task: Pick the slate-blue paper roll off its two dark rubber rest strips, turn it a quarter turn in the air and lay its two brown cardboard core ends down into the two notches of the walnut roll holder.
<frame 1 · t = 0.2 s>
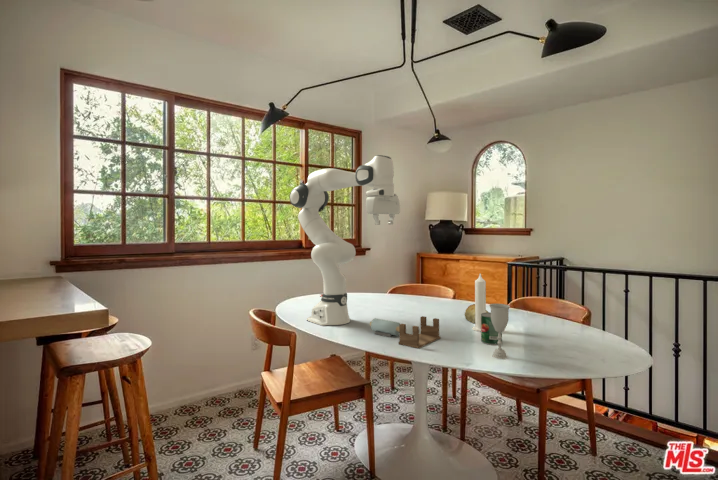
hand: (384, 224, 172), 47 cm above the table, tool pointing down, fingers open, 8 cm apart
candle: (480, 330, 175), on the table
roll holder: (420, 341, 159), on the table
canned tomato: (491, 342, 156), on the table
pastry: (477, 321, 191), on the table
paper roll: (385, 326, 170), point 3 cm above the table, touching rest strips
rest strips: (386, 334, 170), on the table
chalice: (499, 357, 139), on the table
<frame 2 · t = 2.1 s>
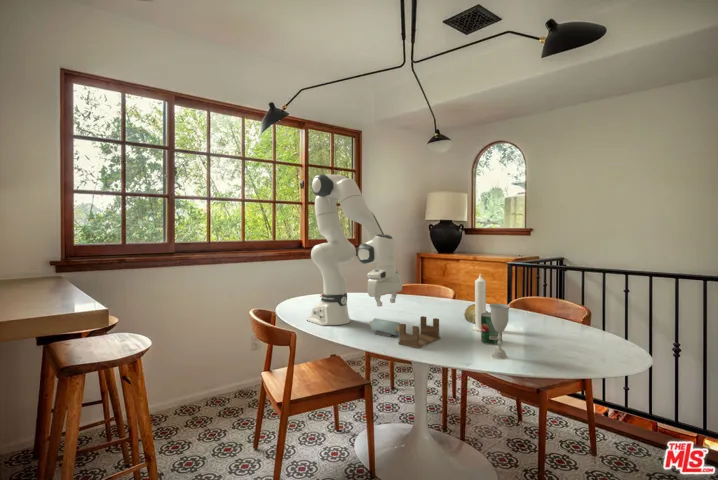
hand: (386, 304, 169), 13 cm above the table, tool pointing down, fingers open, 8 cm apart
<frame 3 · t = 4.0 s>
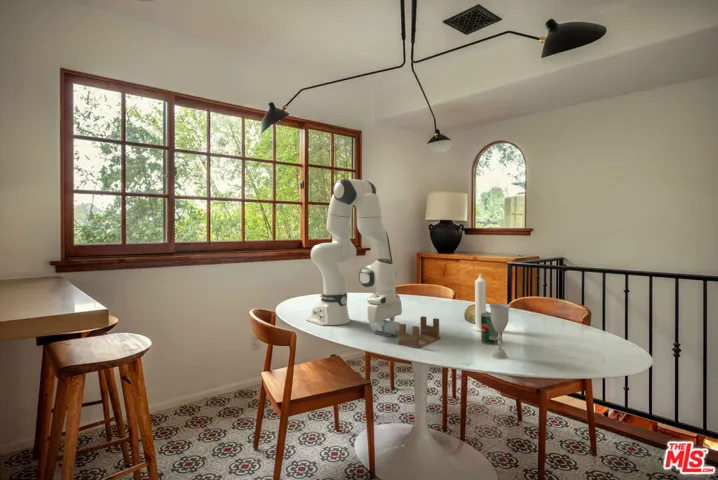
hand: (385, 328, 170), 2 cm above the table, tool pointing down, fingers closed on paper roll, 5 cm apart
paper roll: (385, 326, 170), point 3 cm above the table, touching gripper, rest strips
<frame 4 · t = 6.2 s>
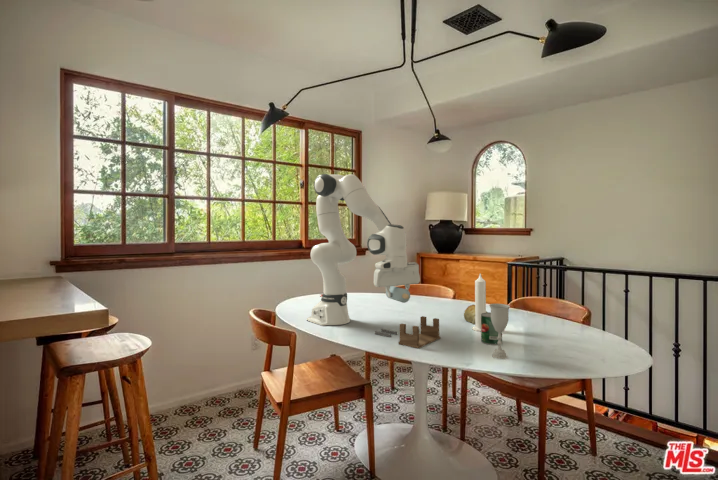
hand: (397, 296, 166), 17 cm above the table, tool pointing down, fingers closed on paper roll, 5 cm apart
paper roll: (397, 294, 166), point 18 cm above the table, touching gripper
when the fingers open (6 cm above the table, at t = 8.9 s): paper roll stays where it is, resting on roll holder.
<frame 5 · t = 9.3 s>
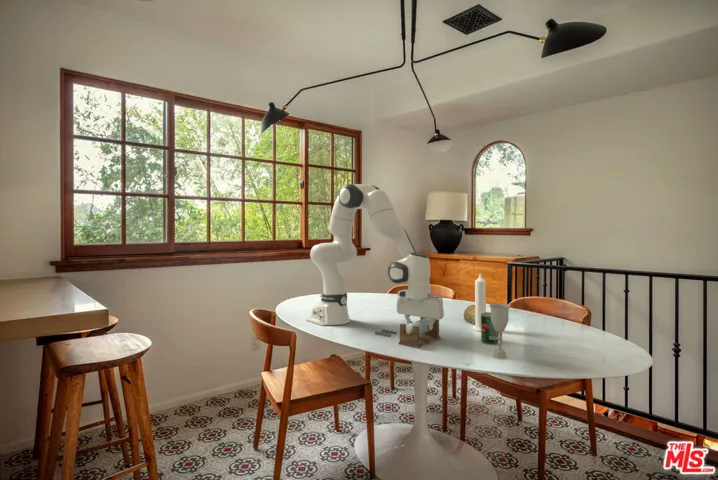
hand: (419, 327, 159), 6 cm above the table, tool pointing down, fingers open, 8 cm apart
paper roll: (419, 327, 159), point 5 cm above the table, touching roll holder
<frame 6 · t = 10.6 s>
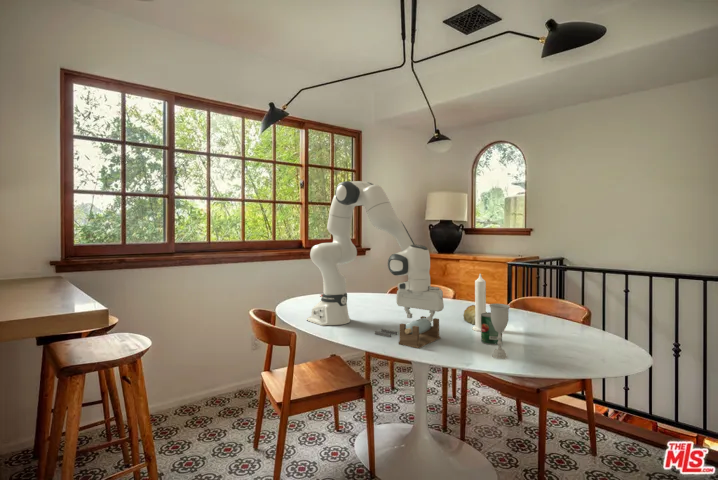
hand: (419, 319, 159), 9 cm above the table, tool pointing down, fingers open, 8 cm apart
paper roll: (417, 327, 160), point 5 cm above the table, tilted 53°, touching roll holder
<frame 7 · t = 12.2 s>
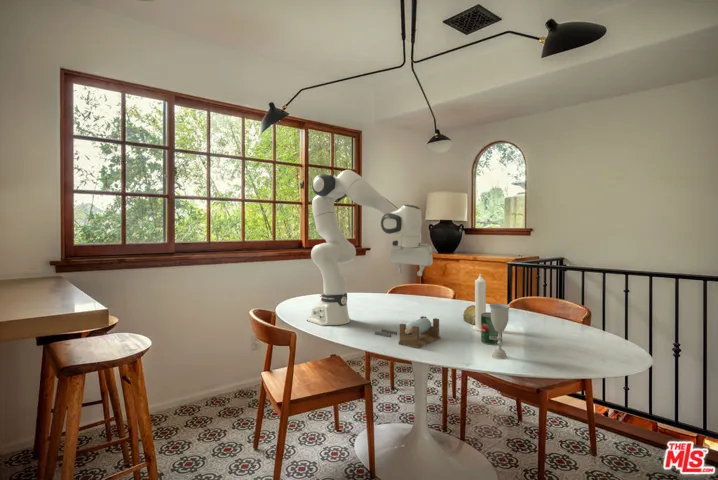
hand: (410, 274, 171), 25 cm above the table, tool pointing down, fingers open, 8 cm apart
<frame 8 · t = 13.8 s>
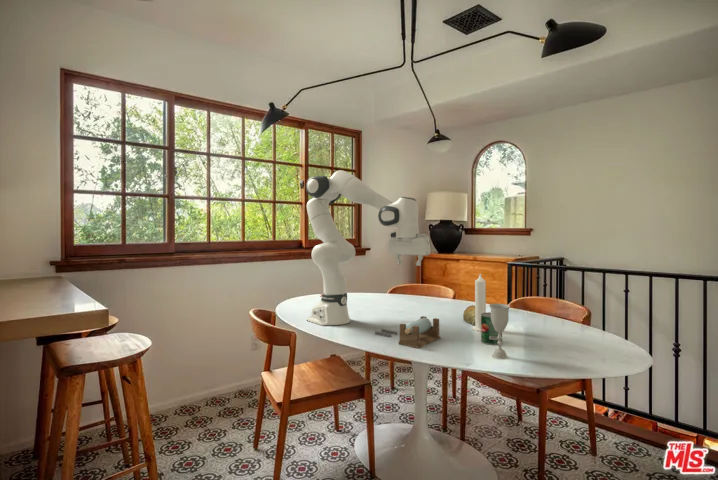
hand: (409, 265, 174), 29 cm above the table, tool pointing down, fingers open, 8 cm apart
at the end: paper roll 1.0 cm off-centre on the roll holder, point 5.5 cm above the roll holder's base; paper roll touching roll holder; the gripper is holding nothing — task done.
